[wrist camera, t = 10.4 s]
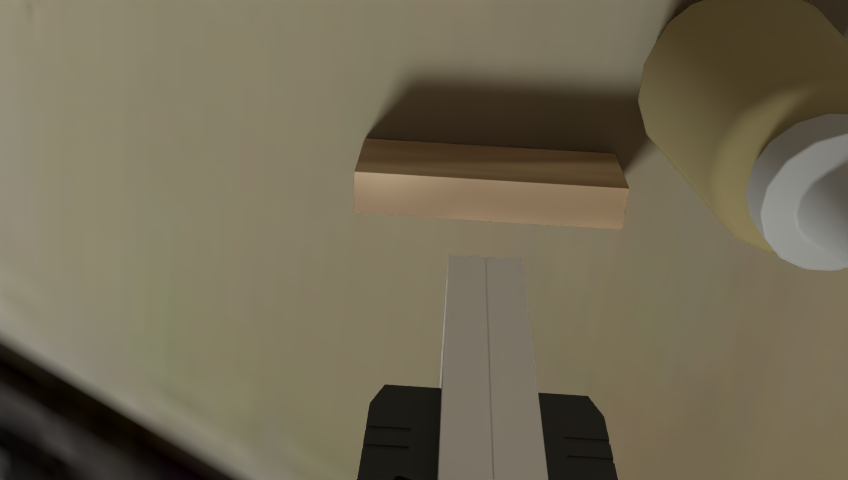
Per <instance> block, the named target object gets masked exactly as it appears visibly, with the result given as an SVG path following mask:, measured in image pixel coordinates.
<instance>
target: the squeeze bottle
mask: <svg viewBox="0 0 848 480" xmlns="http://www.w3.org/2000/svg"><path fill="white" fill-rule="evenodd" d="M638 103H639V107H640V110H641V114H642V118H643V122H644V126H645V130H646V134H647V135H648V136H649V138H650V139H651V140H652V141H653V142H654V144H655V145H656V146H657V147H658V148H659V149H660V151H661V152H662V153H663V154H664V155H665V157H666V158H667V159H668V160H669V161H670V162H671V164H672V165H673V166H674V167H675V168H676V170H677V171H678V172H679V173H680V174H681V175H682V177H683V178H684V179H685V180H686V181H687V183H688V184H689V185H690V186H691V187H692V188H693V190H694V191H695V192H696V193H697V194H698V196H699V197H700V198H701V199H702V200H703V201H704V203H705V204H706V205H707V206H708V207H709V209H710V210H711V211H712V212H713V213H714V214H715V216H716V217H717V218H718V219H719V220H720V222H721V223H722V224H723V225H724V226H725V227H726V229H727V230H728V231H729V232H730V233H731V235H732V236H733V237H734V238H735V239H738V240H740V241H742V242H744V243H746V244H749V245H751V246H753V247H755V248H757V249H760V250H762V251H764V252H768V253H776V254H777V255H778V256H779V257H780V258H781V259H784V260H786V261H788V262H790V263H792V264H795V265H797V266H799V267H801V268H803V269H811V270H829V271H836V270H839V269H843V268H847V267H848V41H847V40H846V39H845V38H844V37H843V36H842V35H841V34H840V32H839V31H838V30H837V29H836V28H835V27H834V26H833V25H832V24H831V23H830V21H829V20H828V19H827V18H826V17H825V16H824V15H823V14H822V13H821V12H820V10H819V9H818V8H817V7H815V6H813V5H812V4H810V3H808V2H806V1H804V0H703V1H700V2H697V3H695V4H692V5H690V6H689V7H688V8H686V9H685V10H684V11H683V12H681V13H680V14H679V15H678V16H676V17H675V18H674V19H673V20H671V21H670V22H669V23H668V24H667V26H666V27H665V29H664V31H663V32H662V34H661V36H660V37H659V39H658V41H657V42H656V44H655V45H654V47H653V49H652V51H651V53H650V54H649V56H648V58H647V60H646V62H645V64H644V69H643V75H642V81H641V86H640V92H639V98H638Z"/></svg>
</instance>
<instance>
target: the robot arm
mask: <svg viewBox="0 0 848 480" xmlns="http://www.w3.org/2000/svg"><path fill="white" fill-rule="evenodd" d="M357 480H618V478H617V474H616V469H615V464H614V463H613V455H612V451H611V446H610V444H609V437H608V432H607V428H606V423H605V419H604V416H603V415H602V414H601V412H600V411H599V410H598V409H597V407H596V406H595V405H594V403H593V402H592V401H591V400H590V398H589V397H588V396H579V395H564V394H549V393H538V388H537V379H536V371H535V362H534V354H533V345H532V337H531V328H530V320H529V311H528V302H527V294H526V285H525V277H524V268H523V260H522V259H512V258H495V257H479V256H463V255H448V269H447V284H446V299H445V313H444V328H443V343H442V358H441V377H440V388H429V387H413V386H398V385H384V386H383V388H382V389H381V390H380V391H379V393H378V394H377V395H376V396H375V398H374V399H373V400H372V401H371V403H370V406H369V412H368V418H367V424H366V430H365V436H364V442H363V448H362V454H361V460H360V467H359V473H358V479H357Z"/></svg>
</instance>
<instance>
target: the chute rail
mask: <svg viewBox="0 0 848 480" xmlns="http://www.w3.org/2000/svg"><path fill="white" fill-rule="evenodd" d="M628 194H629V187H628V184H627V182H626V179H625V177H624V174H623V172H622V170H621V167H620V165H619V162H618V160H617V158H616V155H615V154H613V153H597V152H580V151H564V150H547V149H531V148H514V147H498V146H482V145H465V144H449V143H432V142H416V141H400V140H383V139H367V138H365V140H364V143H363V146H362V149H361V153H360V156H359V159H358V162H357V165H356V169H355V178H354V213H370V214H386V215H402V216H418V217H433V218H449V219H465V220H481V221H497V222H513V223H529V224H545V225H560V226H576V227H592V228H608V229H622V226H623V221H624V215H625V210H626V205H627V199H628Z"/></svg>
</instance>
